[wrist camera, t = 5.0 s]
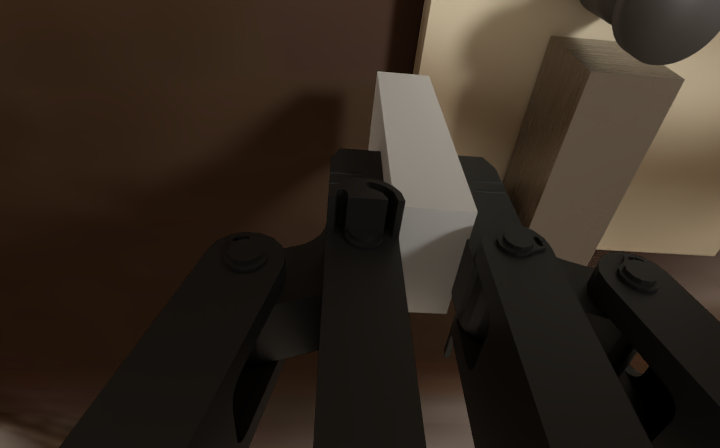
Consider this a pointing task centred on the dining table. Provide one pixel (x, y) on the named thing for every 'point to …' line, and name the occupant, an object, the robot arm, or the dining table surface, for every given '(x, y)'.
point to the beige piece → (518, 77)
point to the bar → (584, 140)
